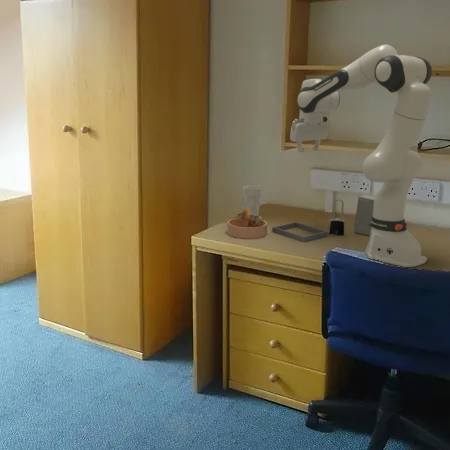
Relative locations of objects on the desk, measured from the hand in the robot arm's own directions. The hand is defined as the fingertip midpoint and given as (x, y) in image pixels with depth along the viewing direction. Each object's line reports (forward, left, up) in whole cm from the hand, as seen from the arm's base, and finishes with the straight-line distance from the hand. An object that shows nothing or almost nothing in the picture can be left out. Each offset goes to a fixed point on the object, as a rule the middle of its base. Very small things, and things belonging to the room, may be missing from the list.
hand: (308, 151), depth 247 cm
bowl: (+6, +28, -33) cm, 44 cm away
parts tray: (-8, +11, -33) cm, 35 cm away
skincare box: (-24, -13, -33) cm, 43 cm away
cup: (+20, +13, -33) cm, 41 cm away
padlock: (-17, -2, -33) cm, 37 cm away
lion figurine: (+8, +26, -31) cm, 41 cm away
